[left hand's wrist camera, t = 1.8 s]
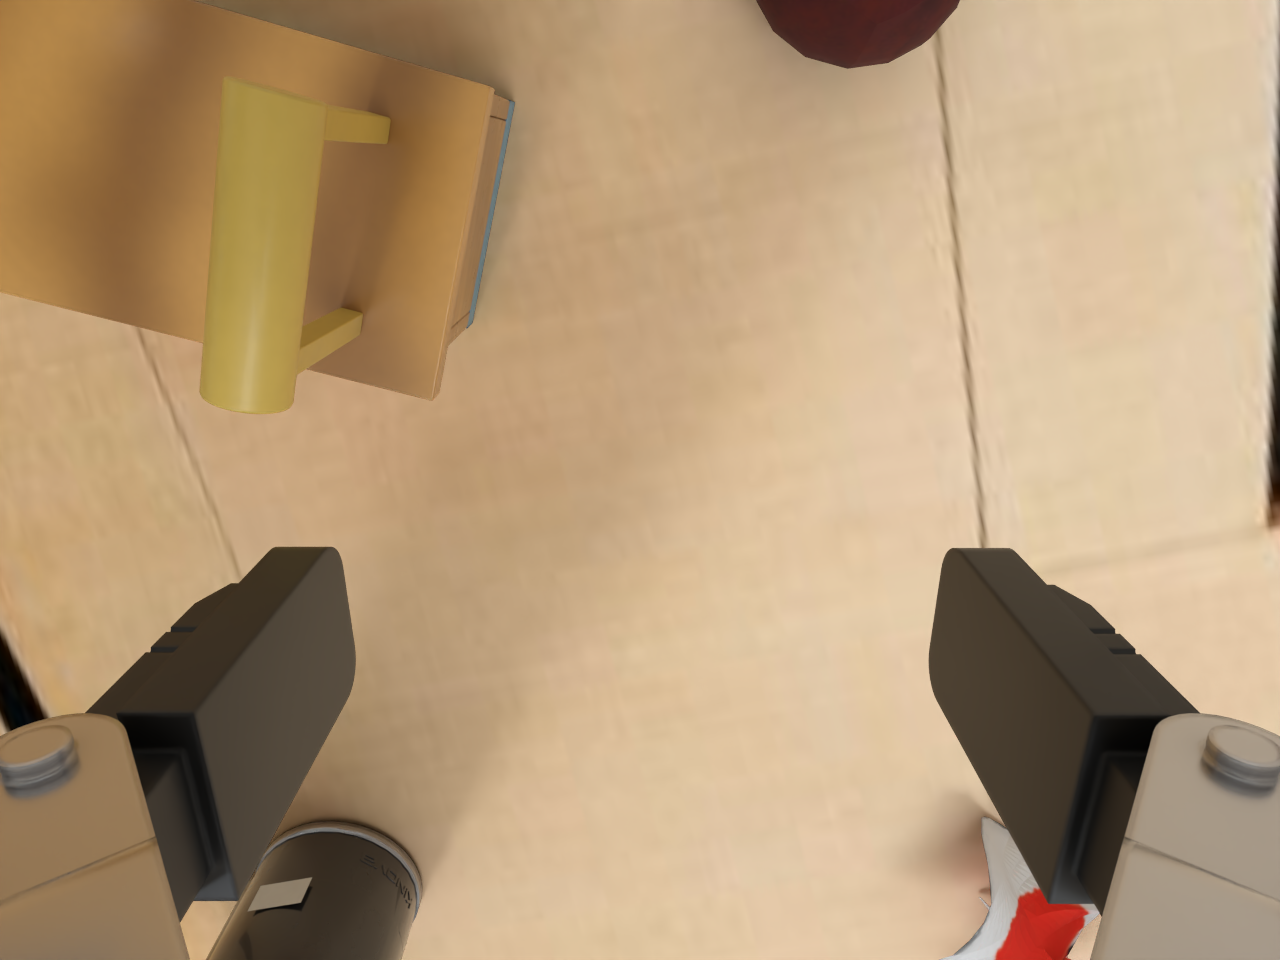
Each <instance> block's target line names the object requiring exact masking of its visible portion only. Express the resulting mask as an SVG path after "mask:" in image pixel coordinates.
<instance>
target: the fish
mask: <svg viewBox="0 0 1280 960" xmlns="http://www.w3.org/2000/svg"><path fill="white" fill-rule="evenodd" d="M981 834H982V839H983V844H984V849H985V854H986V858H987V862H988V870H989V879H990V890H991V907H989V906H988V905H987V904H986V903H985V902H984V900H983V899H982V898H981V897H979V898H980V899H981V901H982V902H983V903H984V905H985V906H986V907H987V909H988V910H989V912H988V914H987V916H986V919H985V921H984V923H983V925H982V926H981V927H980V928H979V930H978V931H977V932H976V933H975V935H974V936H973V937H972V938H971V940H970V941H969V942H968V943H966V944H965V945H964V946H963V947H962V948H961V949H960V950H958V951H957V952H956V953H955V954H954V955H952V956H949V957H946V958H943V959H940V960H1071V959H1068V957H1067V955H1068V954H1069V952H1070V951H1071V949H1072V947H1073V945H1074V943H1075V942H1076V940H1077V938H1078V936H1079V935H1080V933H1081V931H1082V929H1083V928H1084V927H1085V926H1086V925H1087V924H1089V923H1090V922H1091V921H1092V920H1093V919H1095V918H1096V917H1097V916H1098V915H1099V914H1100V913H1099V911H1098V910H1097V908H1096V906H1095V905H1094V904H1048V902H1047V901H1046V899H1045V897H1044V895H1043V893H1042V891H1041V890H1040V888H1039V886H1038V884H1037V882H1036V881H1035V879H1034V877H1033V875H1032V873H1031V871H1030V870H1029V868H1028V866H1027V864H1026V862H1025V860H1024V859H1023V857H1022V855H1021V853H1020V851H1019V850H1018V848H1017V846H1016V844H1015V842H1014V840H1013V839H1012V837H1011V835H1010V833H1009V831H1008V829H1007V828H1005V827H1004V826H1002V825H1001V824H999V823H997V822H996V821H994V820H992V819H990V818H987V817H982V827H981Z"/></svg>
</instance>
